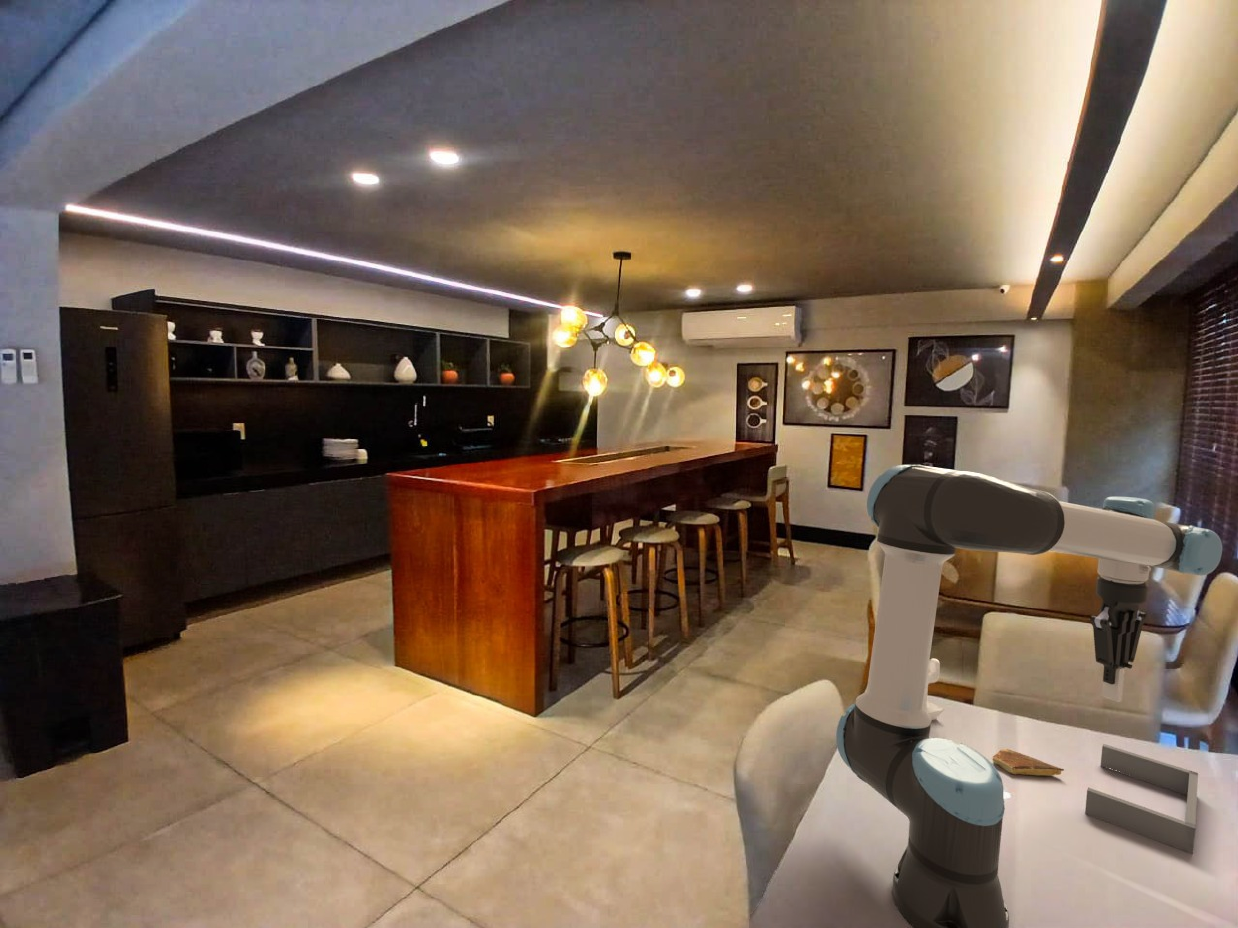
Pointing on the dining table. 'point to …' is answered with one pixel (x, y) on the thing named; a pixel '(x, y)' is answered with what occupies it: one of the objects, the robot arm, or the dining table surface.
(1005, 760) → the shard
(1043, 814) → the dining table surface
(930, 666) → the figurine
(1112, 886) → the dining table surface
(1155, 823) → the box
